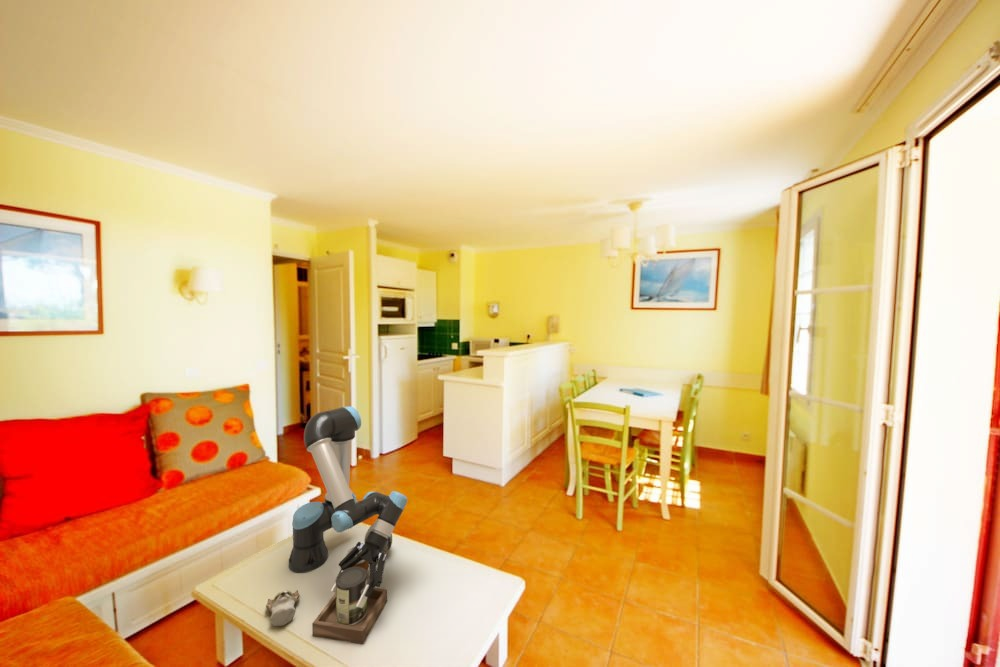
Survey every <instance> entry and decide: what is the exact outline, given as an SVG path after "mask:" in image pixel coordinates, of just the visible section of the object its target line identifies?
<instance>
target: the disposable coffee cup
mask: <svg viewBox="0 0 1000 667" xmlns="http://www.w3.org/2000/svg"><path fill="white" fill-rule="evenodd" d="M355 546H356V545H355ZM355 546H352V547H350V548H349V550H348V551H347V552H346V555H345V557H346V556H347V555H348V554H349V553H350V552H351V551H352V550H353V549H354V548H355ZM361 551H362V550H360V552H361ZM360 552H359V553H360ZM356 556H357V555H356ZM356 556H355V557H356ZM353 567H362V568H364V569H365V570H366V571H367V575H368V574H369V568H370V565H369V562H367V561H365V560H361V561H360V562H358V563H357V564H355V565H354V566H353Z"/></svg>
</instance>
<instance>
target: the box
mask: <svg viewBox="0 0 1000 667" xmlns="http://www.w3.org/2000/svg"><path fill="white" fill-rule="evenodd" d="M388 591H389V590H388V589H387V588H381V587H374V589H373V591H372V593H371V595H370V597H368V598H367V613H366V615H365V617H364V618H363V619H362V620H361V621H360V622H359V623H357V624H355V625H352V626H348V625H342V624H338V623H337V621H336V592H334V595H332V597H331V599H329V601H328V602H327V603H326V604H325V606H324V607H323V608H322V610H321V611H320V613H319V614H318V615H317V617H316V618H315V619H314V620H313V622H312V623H311V627H312V628H311V629H312V630H311V631H312V637H315V638H316V637H317V638H322V639H326V640H327V639H329V640H334V641H335V640H336V641H340V642H345V643H347V642H348V643H353V644H360V645H364V644H365V641H366V640H367V638H368V636H369V634H370V632H371V631H372V629H373V627H374V626H375V624H376V622H377V620H378V619H379V617H380V615H381V614H382V611H383V610H384V608H385V606H386V604H387V603H388V595H389V594H388Z"/></svg>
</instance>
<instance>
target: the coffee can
mask: <svg viewBox="0 0 1000 667" xmlns="http://www.w3.org/2000/svg"><path fill="white" fill-rule="evenodd" d="M338 574H339V575H338ZM338 574H337V576H336V578H335V582H336V592H335V593H336V621H337V623H338V624H342V625H348V626H352V625H355V624H357V623H359V622H360V621H361V620H362V619H363V618H364V617H365V615H366V613H367V600H366V602H365V604H364V606H363V608H360V607H357V606H356V605H357V603H358V601H359V599H360V597H361V595H362V593H363V591H364V589H365V587H366V585H367V583H368V581H367V580H368V574H367V571H366V570H365V569H364V568H362V567H351V568H348V569H345V570H343V571H342V572H341V573H339V572H338Z"/></svg>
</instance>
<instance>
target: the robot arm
mask: <svg viewBox="0 0 1000 667" xmlns="http://www.w3.org/2000/svg"><path fill="white" fill-rule="evenodd" d="M361 418H362V417H361V415H360V413H359V411H358V410H357V409H356V408H355V407H354V406H342V407H338V408H335V409H329V410H325V411H320V412H317V413H316V414H315V413H314V415H313V416H311V418H310V419H309V420H308V421H307V423H306V425H305V428H304V432H303V443H304V446H305V448H306V451H307V452H309V453H311V455H312V459H313V460H314V462H315V465H316V468H317V470H318V473H319V475H320V477H321V480H322V482H323V485H324V487H325V489H326V493H325V494H324V501H323V502H320V501H313V502H307V503H305V504H303V505H301V506H300V507H298V508H297V509H296V510H295V512H294V513H293V516H292V525H291V527H292V549H291V551H290V554H289V559H288V569H289V570H290V571H291V572H294V573H301V574H302V573H307V572H311V571H313V570H316V569H318V568H319V567H321V566H323V565H324V563H325V562H326V561H327V560H328V558H329V550H328V549H329V548H328V547H327V545H326V542H325V540H324V532H326V531H328V530H331V529H334V531H335V532H337V533H343V532H345V531H347V530H349V529H352V528H353V527H355V526H357V525H359V524H360V523H362V522H364V521H366V520H368V519H371V518H372V517H374V516H376V515H378V516H377V519H376V520H375V522H374V523H375V524H374V523H373V524H374V525H373V527H372V530H373V531H371V532H370V533H369V535H368V537H367V539H366V543H365V544H364V543H363V542H361V541H358V542H357V543H356V544H355V548H354V549H353V550H352V551H351V552H350V553H349V554H348V555H347V554H346V555H347V556H346V555H345V557H344V558H343V559H341V560H340V562H339V563H338V566H339V568H340V570H339V572H338V573H337V576H338V575H339V573H341V572H342V571H343V570H345V569H348V568H351V567H353V566H354V565H355V564H357V563H358V562H360V561H361V560H365V561H367V562H369V583H368V584H367V585H366V587H365V589H364V591H363V593H362V595H361V597H360V599H359V601H358V603H357V605H356V606H357V607H360V608H363V606H364V604H365V602H366V600H367V598H368V597H370V595H371V593H372V591H373V589H374V588H381V586H382V581H383V577H384V576H383V575H384V569H385V564H386V560H387V558H388V555H387V554H384V553H381V551H382V549H384V547H385V545H386V543H387V541H388V539H387V538H388V537H390V535H391V533H392V534H393V531H394V529H395V528H396V525H397V523H398V521H399V519H400V517H401V515H402V513H403V512H404V510H405V507H406V506H407V503H408V497H407V496H406V495H404V494H403V493H401V492H398V491H395V490H392V491H391V492H390V494H389V495H388V494H384V493H381V492H378V491H373V490H372V491H369V492H367V493H366V494H365V495H364V496H363V498H362V499H361V500H357V496H356V494H355V493H354V492H353V489H351V488H350V475H351V474H350V472H351V458H352V457H351V453H352V452H351V451H352V440H354V439H355V438H356V432H357V431H358V430H360V429H361V427H362V419H361ZM360 550H362V551H361V552H360ZM359 552H360V553H359ZM356 555H357V556H356ZM355 556H356V557H355ZM378 557H379V558H378ZM330 591H331V592H333V593H336V581H335V582H334V584H333V585H332V587H331V590H330Z"/></svg>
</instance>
